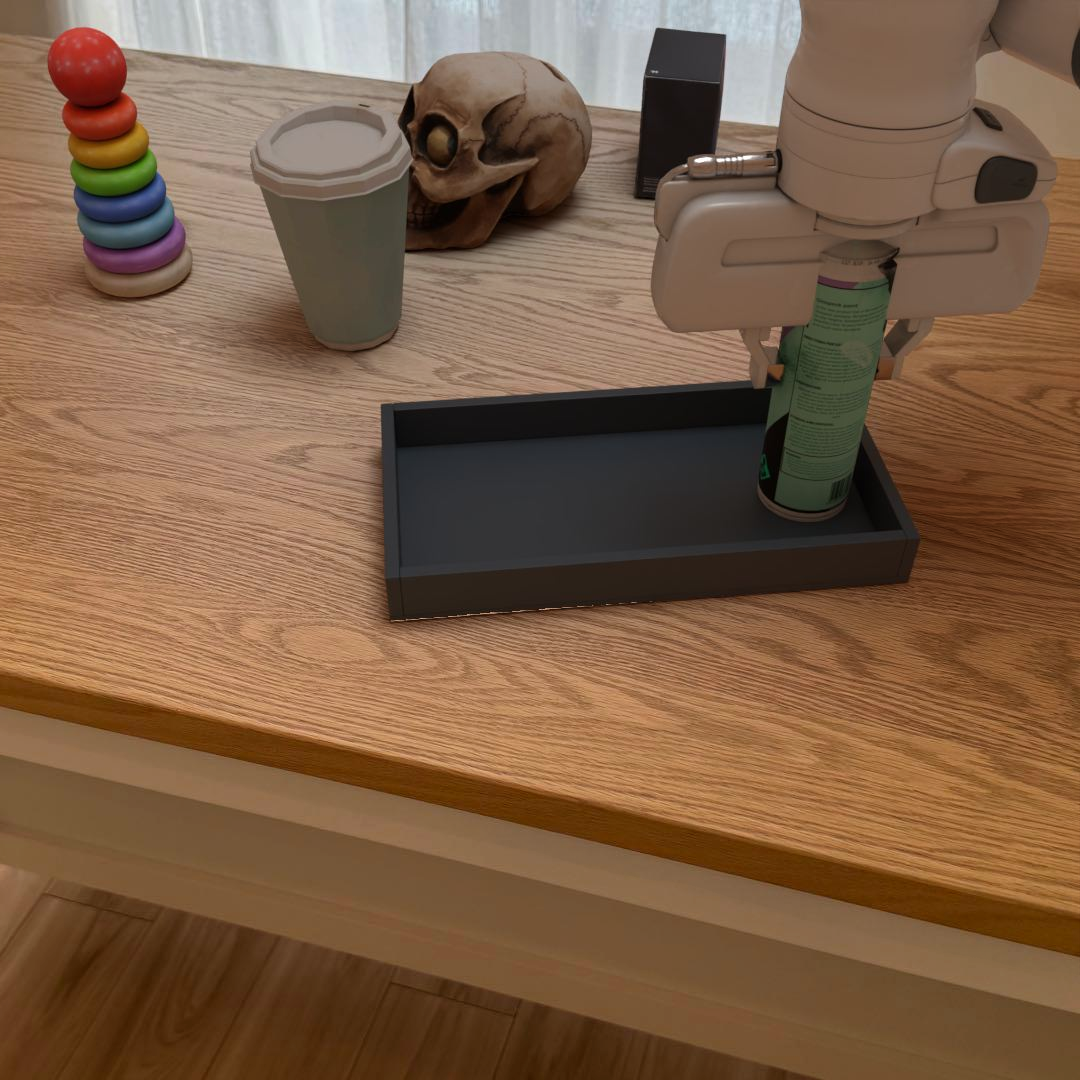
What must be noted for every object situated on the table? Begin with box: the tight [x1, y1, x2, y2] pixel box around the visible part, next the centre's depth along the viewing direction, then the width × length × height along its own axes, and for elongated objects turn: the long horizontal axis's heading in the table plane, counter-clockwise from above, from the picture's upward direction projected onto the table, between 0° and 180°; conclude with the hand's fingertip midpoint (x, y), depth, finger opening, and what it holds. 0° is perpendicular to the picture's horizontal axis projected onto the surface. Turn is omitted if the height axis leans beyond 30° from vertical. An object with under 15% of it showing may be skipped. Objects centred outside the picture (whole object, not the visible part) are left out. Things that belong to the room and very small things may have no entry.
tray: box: [380, 379, 922, 622], centre depth 74 cm, size 30×16×4 cm, turn 96°
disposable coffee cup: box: [249, 99, 413, 352], centre depth 85 cm, size 11×11×15 cm
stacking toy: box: [46, 26, 193, 298], centre depth 89 cm, size 8×8×19 cm
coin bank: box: [396, 50, 593, 251], centre depth 99 cm, size 16×17×13 cm
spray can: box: [757, 239, 900, 522], centre depth 69 cm, size 6×6×20 cm
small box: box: [633, 27, 727, 199], centre depth 104 cm, size 11×6×10 cm, turn 171°
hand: (823, 378), depth 70 cm, fingers closed on spray can, 5 cm apart
